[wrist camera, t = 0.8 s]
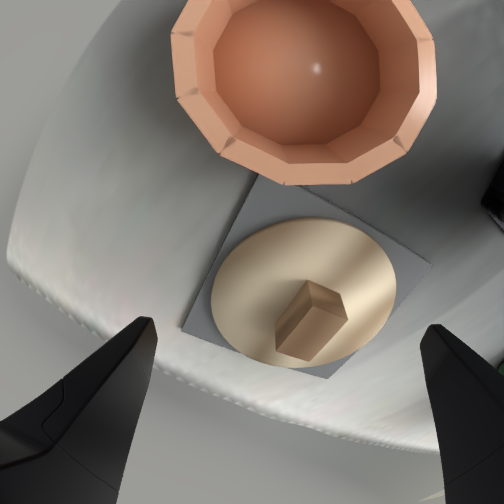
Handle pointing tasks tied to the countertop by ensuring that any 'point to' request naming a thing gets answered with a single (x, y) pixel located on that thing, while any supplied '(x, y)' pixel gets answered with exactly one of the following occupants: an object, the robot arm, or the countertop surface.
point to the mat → (283, 208)
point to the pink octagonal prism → (305, 83)
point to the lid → (303, 292)
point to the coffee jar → (501, 369)
